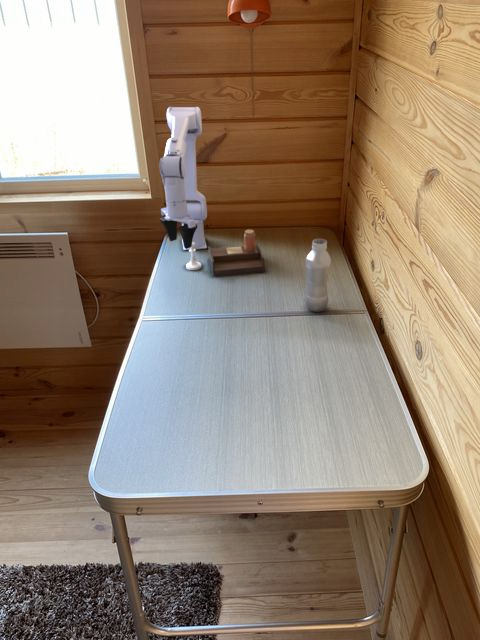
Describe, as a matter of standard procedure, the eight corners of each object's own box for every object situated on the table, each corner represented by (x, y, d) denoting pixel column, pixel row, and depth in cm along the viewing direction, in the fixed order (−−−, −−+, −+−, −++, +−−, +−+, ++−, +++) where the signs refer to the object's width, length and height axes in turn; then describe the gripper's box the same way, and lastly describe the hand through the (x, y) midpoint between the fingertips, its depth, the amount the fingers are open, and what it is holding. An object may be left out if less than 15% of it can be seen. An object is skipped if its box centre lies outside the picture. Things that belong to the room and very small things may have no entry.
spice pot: (243, 247, 168) (242, 229, 165) (254, 246, 169) (254, 228, 165) (245, 252, 165) (244, 233, 162) (256, 251, 166) (255, 233, 162)
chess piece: (202, 263, 168) (200, 234, 162) (199, 270, 164) (197, 240, 158) (187, 263, 168) (185, 234, 162) (184, 269, 164) (181, 240, 158)
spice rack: (209, 260, 170) (208, 246, 167) (257, 256, 172) (257, 242, 169) (213, 276, 160) (212, 261, 157) (264, 272, 162) (264, 257, 160)
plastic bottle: (326, 315, 141) (331, 247, 129) (302, 313, 142) (305, 245, 130) (328, 304, 146) (334, 237, 134) (305, 301, 147) (308, 235, 135)
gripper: (150, 196, 150) (155, 240, 158) (179, 209, 141) (183, 255, 149) (170, 191, 154) (174, 234, 162) (199, 203, 145) (203, 248, 153)
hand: (180, 243), depth 155 cm, fingers open, 7 cm apart
